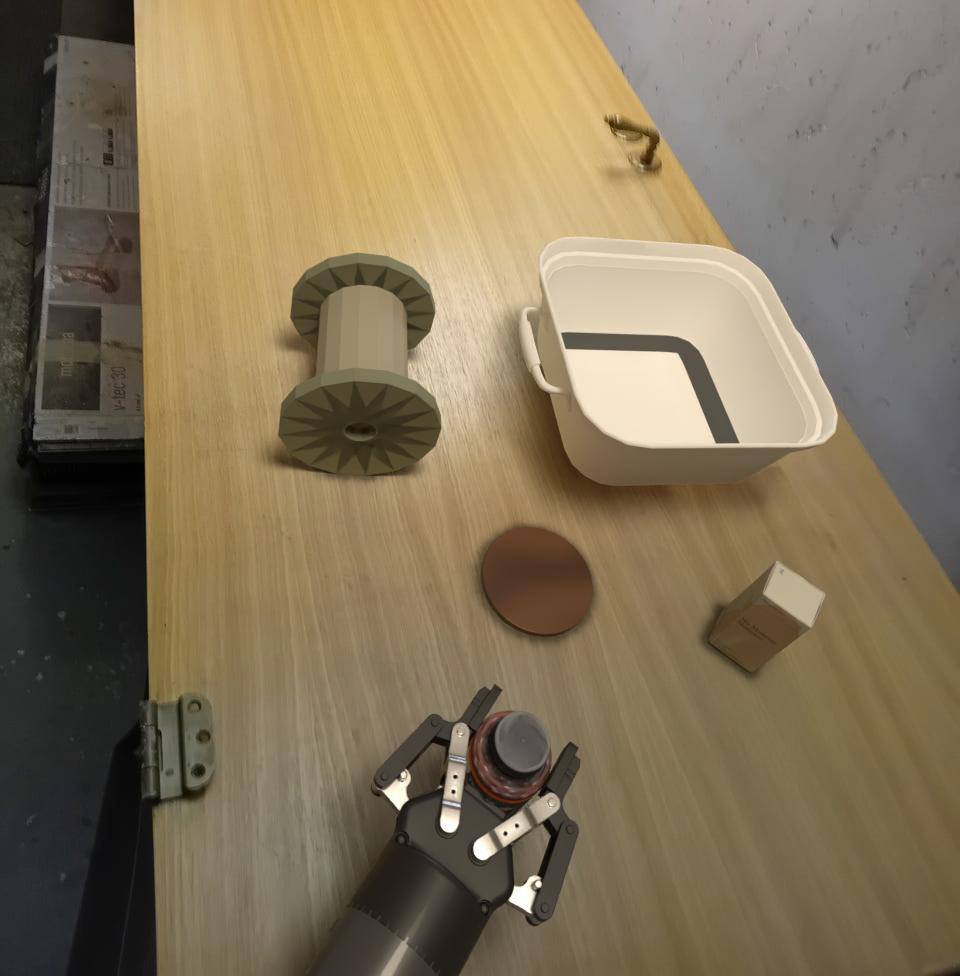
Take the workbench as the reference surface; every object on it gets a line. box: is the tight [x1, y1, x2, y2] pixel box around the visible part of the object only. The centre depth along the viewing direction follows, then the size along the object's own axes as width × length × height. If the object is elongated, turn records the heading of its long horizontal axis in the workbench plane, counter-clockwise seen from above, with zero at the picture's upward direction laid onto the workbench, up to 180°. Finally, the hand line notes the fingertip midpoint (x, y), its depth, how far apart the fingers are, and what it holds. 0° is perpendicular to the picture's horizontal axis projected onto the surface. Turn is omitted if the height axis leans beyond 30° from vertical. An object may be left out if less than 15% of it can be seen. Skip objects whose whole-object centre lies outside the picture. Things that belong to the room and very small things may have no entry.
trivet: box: [481, 526, 594, 637], centre depth 82 cm, size 11×11×1 cm
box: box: [708, 560, 826, 674], centre depth 79 cm, size 5×4×11 cm
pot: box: [517, 235, 839, 487], centre depth 94 cm, size 34×29×15 cm
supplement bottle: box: [464, 709, 553, 820], centre depth 62 cm, size 6×6×11 cm
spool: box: [277, 252, 443, 477], centre depth 85 cm, size 16×15×15 cm
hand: (532, 719), depth 60 cm, fingers closed on supplement bottle, 6 cm apart
